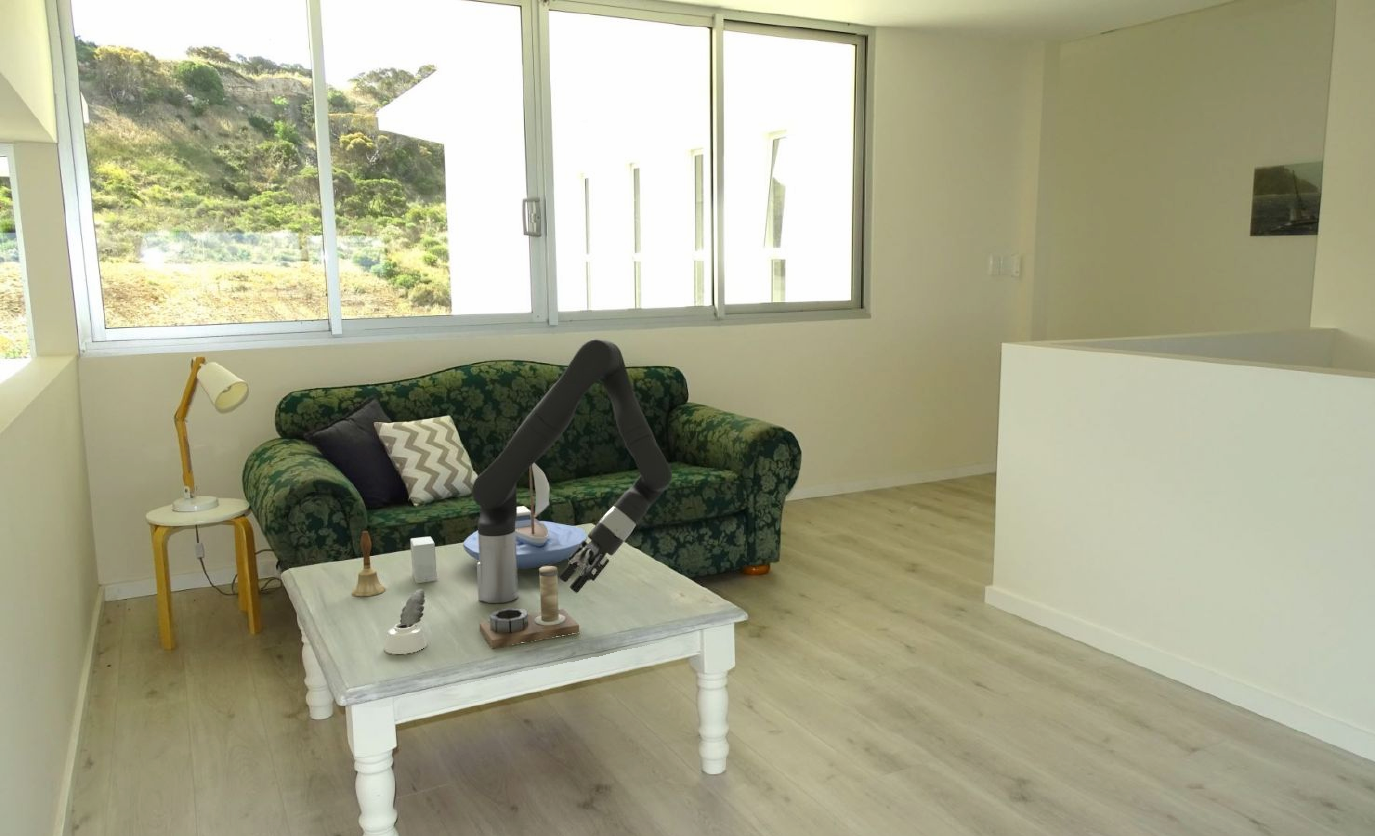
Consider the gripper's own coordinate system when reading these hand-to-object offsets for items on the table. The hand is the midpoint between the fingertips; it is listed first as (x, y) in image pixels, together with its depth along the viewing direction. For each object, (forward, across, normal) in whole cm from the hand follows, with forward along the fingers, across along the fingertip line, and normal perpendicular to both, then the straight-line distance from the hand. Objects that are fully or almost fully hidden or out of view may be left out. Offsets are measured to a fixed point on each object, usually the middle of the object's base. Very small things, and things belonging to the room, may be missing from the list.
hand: (567, 585), depth 227 cm
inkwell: (+31, -8, -18) cm, 37 cm away
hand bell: (+34, -48, -21) cm, 62 cm away
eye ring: (+15, 0, -4) cm, 16 cm away
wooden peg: (+8, 0, +2) cm, 9 cm away
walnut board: (+14, 0, 0) cm, 14 cm away
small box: (+24, -52, -10) cm, 58 cm away
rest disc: (+9, 0, +2) cm, 9 cm away
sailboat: (+4, -53, +10) cm, 54 cm away
